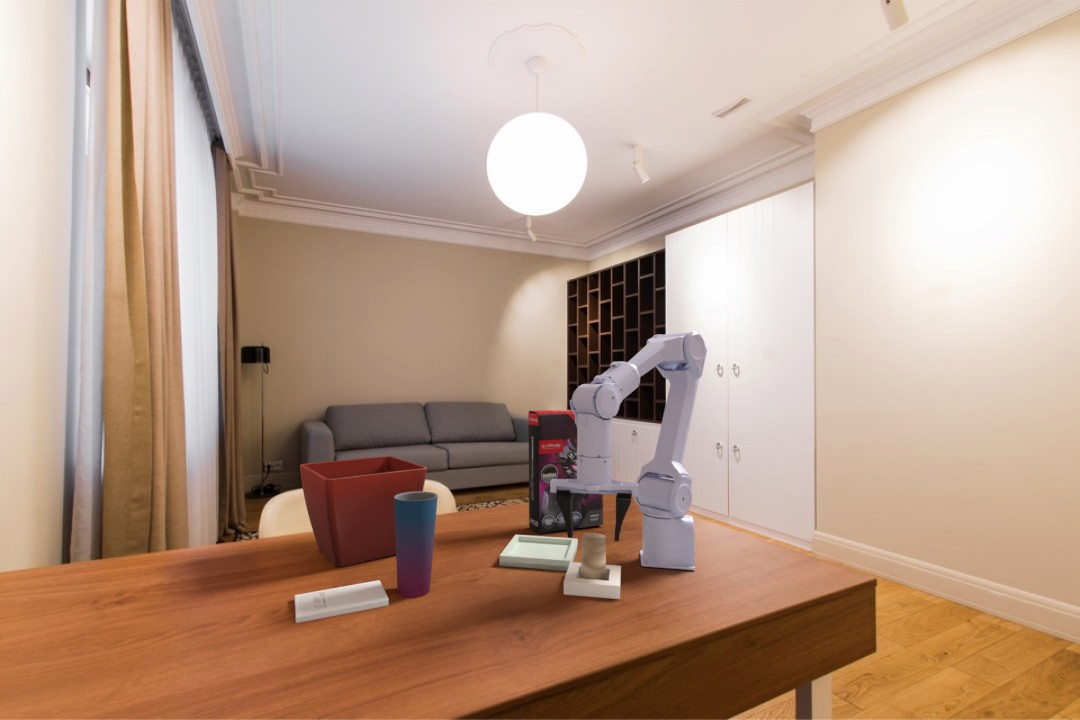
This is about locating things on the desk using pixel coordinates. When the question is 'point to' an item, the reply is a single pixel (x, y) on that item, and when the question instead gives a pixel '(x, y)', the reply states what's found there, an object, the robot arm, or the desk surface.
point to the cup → (414, 541)
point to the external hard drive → (339, 601)
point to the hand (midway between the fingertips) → (593, 537)
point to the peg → (593, 556)
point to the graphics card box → (556, 472)
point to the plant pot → (357, 505)
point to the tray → (539, 552)
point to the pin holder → (593, 583)
